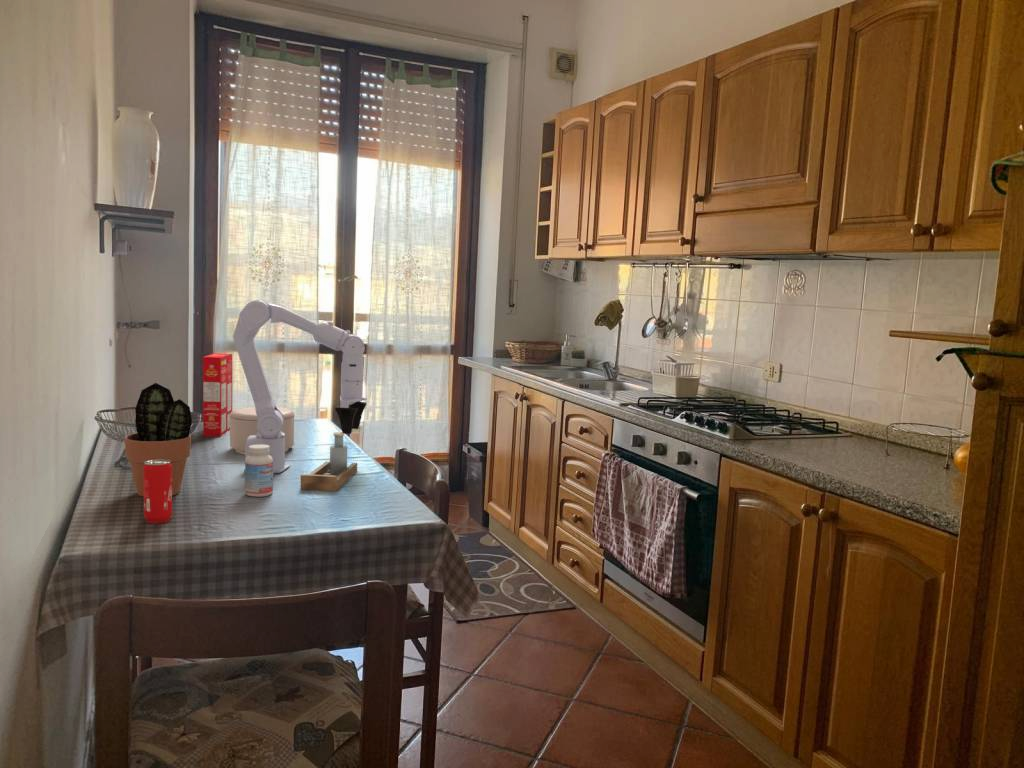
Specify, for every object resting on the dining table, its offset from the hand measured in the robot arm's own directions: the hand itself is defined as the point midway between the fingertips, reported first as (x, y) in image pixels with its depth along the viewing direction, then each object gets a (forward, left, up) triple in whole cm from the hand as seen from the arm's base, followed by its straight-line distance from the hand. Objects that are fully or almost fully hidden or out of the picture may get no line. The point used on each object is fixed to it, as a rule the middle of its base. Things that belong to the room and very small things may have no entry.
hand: (350, 431), depth 205 cm
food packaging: (-54, +41, -10) cm, 68 cm away
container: (-31, +18, -10) cm, 37 cm away
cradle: (-2, -13, -10) cm, 16 cm away
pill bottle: (-14, -30, -10) cm, 34 cm away
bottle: (-2, -6, -10) cm, 12 cm away
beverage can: (-26, -53, -10) cm, 60 cm away
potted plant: (-36, -33, -10) cm, 50 cm away
